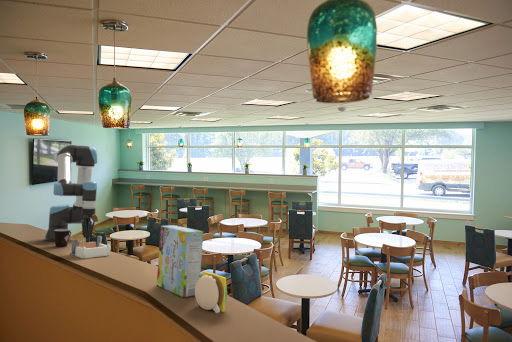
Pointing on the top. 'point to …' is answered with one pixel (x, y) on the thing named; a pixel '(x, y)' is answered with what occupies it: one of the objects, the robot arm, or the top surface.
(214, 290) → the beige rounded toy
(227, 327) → the top surface
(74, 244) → the gate
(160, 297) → the top surface
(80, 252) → the paddock fence
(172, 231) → the snack box
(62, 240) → the coffee mug
